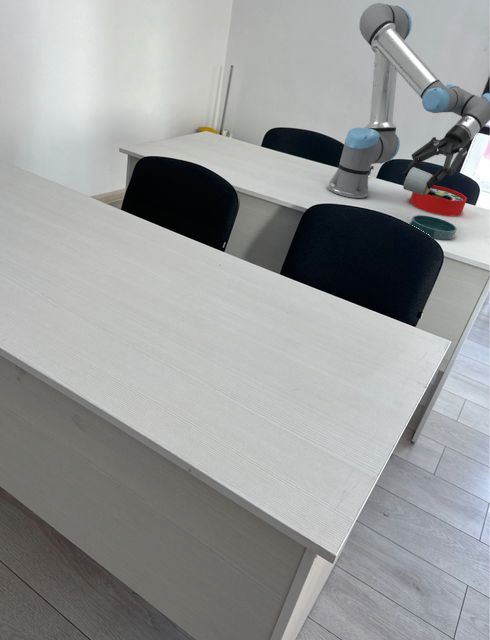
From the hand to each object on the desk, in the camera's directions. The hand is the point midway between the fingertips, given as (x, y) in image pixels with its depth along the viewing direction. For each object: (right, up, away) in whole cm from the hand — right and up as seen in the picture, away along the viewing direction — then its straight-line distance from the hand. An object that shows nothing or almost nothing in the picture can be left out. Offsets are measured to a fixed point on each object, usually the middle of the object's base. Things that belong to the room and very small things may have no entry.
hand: (416, 180), depth 197 cm
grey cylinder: (+1, -3, +4) cm, 5 cm away
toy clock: (+19, -1, +31) cm, 36 cm away
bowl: (+6, -17, +3) cm, 18 cm away
